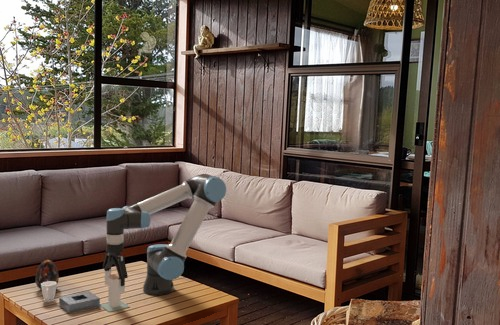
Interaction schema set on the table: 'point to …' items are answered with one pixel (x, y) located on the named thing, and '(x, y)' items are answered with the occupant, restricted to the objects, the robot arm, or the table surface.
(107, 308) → the mat
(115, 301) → the plug
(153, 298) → the table surface
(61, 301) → the grey square holder
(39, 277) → the egg
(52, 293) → the cup
